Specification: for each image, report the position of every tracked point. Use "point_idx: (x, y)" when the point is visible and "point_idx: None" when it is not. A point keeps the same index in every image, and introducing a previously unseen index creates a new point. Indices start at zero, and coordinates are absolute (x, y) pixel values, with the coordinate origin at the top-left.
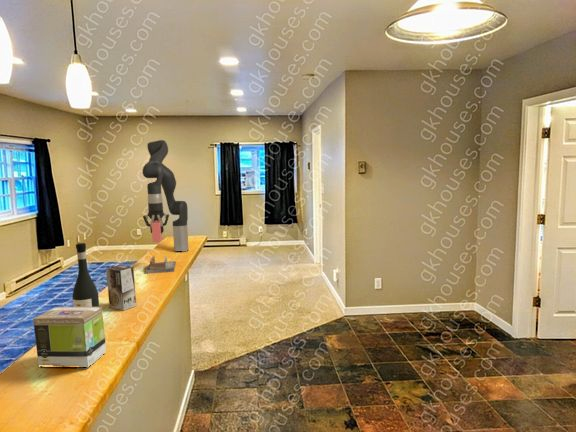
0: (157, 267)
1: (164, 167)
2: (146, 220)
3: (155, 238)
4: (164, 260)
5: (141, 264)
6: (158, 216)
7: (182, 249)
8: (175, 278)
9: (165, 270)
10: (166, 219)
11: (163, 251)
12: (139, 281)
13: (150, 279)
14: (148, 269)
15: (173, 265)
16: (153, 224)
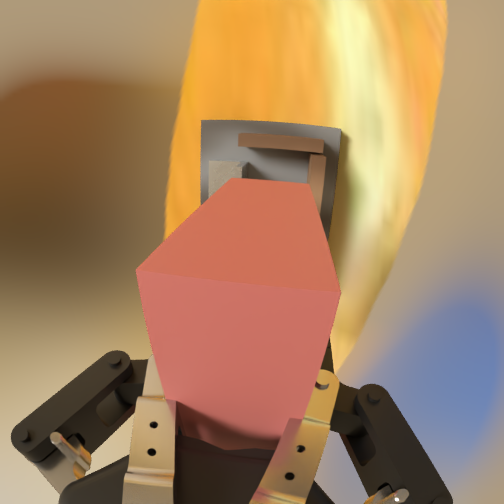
0: (283, 135)
1: None
2: (397, 459)
3: (277, 189)
4: (239, 166)
5: (350, 315)
6: (147, 495)
7: None
8: (199, 6)
9: (243, 120)
10: (64, 404)
11: None
12: (355, 13)
13: (310, 20)
14: (330, 154)
15: (205, 191)
16: (288, 274)
